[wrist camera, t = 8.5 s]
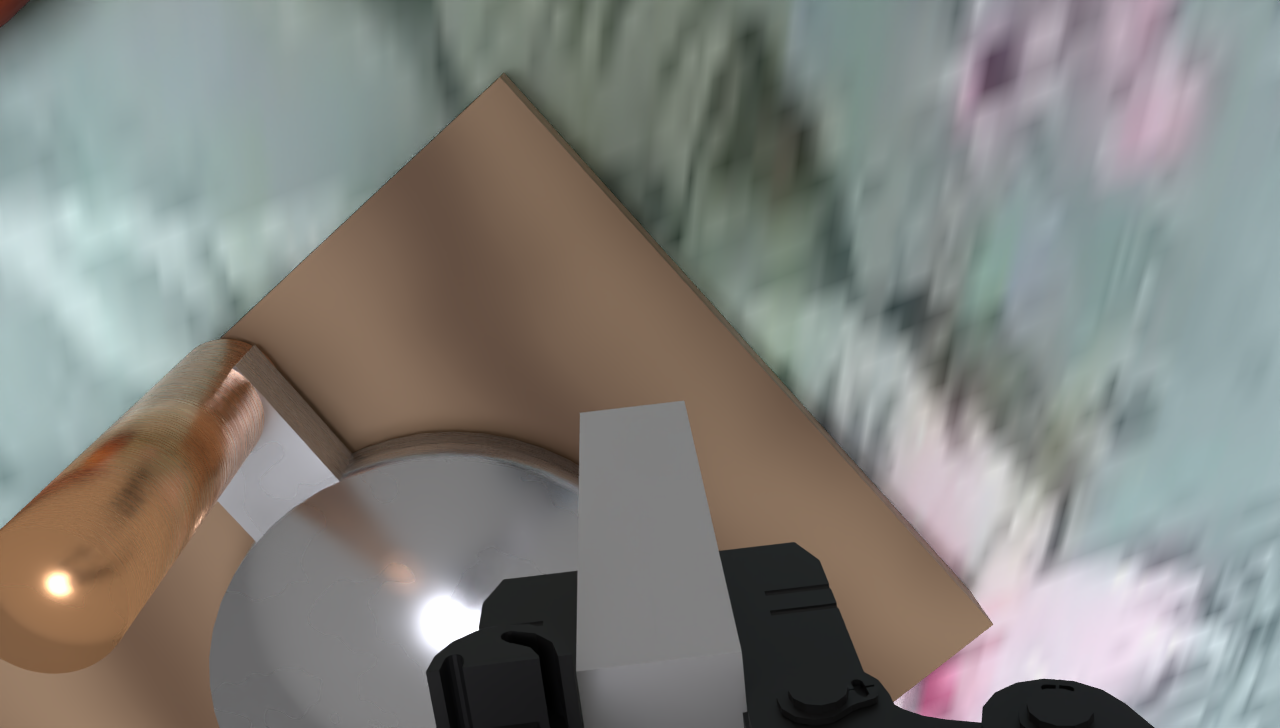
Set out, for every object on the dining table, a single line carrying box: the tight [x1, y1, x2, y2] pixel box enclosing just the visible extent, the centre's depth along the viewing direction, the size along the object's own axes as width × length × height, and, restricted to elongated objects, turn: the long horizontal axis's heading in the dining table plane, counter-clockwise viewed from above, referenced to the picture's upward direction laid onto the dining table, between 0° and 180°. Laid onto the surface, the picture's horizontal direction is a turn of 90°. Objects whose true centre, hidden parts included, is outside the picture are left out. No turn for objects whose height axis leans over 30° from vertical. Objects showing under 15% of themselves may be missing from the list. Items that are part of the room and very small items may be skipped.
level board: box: [0, 73, 993, 728], centre depth 32 cm, size 22×20×4 cm
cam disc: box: [0, 339, 579, 728], centre depth 26 cm, size 16×12×11 cm
